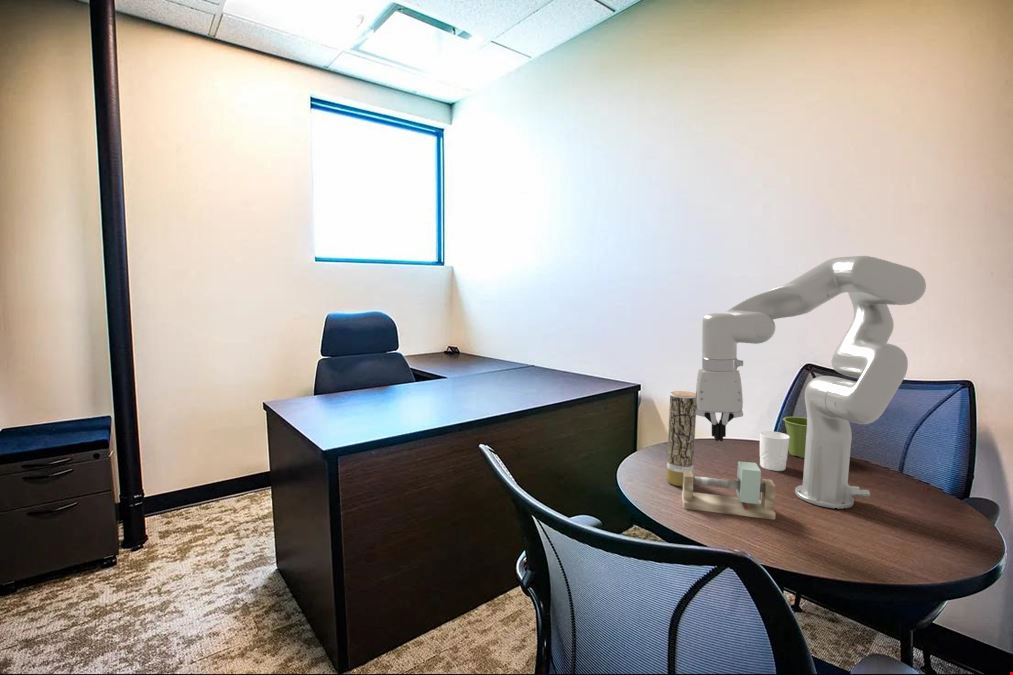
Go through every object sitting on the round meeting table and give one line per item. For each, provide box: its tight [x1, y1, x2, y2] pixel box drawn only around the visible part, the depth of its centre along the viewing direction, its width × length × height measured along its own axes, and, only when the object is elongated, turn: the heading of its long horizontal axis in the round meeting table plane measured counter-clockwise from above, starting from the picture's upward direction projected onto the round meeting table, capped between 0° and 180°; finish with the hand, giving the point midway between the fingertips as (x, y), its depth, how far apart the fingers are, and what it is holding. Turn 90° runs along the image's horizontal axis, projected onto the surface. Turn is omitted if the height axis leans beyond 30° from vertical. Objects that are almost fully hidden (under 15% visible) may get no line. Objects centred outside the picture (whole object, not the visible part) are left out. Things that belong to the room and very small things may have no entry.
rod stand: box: [681, 471, 776, 520], centre depth 119 cm, size 20×7×8 cm, turn 74°
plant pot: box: [782, 416, 807, 459], centre depth 157 cm, size 12×12×11 cm
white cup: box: [759, 430, 790, 472], centre depth 146 cm, size 8×8×10 cm
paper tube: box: [666, 390, 697, 488], centre depth 133 cm, size 7×7×25 cm
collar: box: [735, 460, 762, 504], centre depth 117 cm, size 4×6×8 cm
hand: (718, 439), depth 119 cm, fingers closed
